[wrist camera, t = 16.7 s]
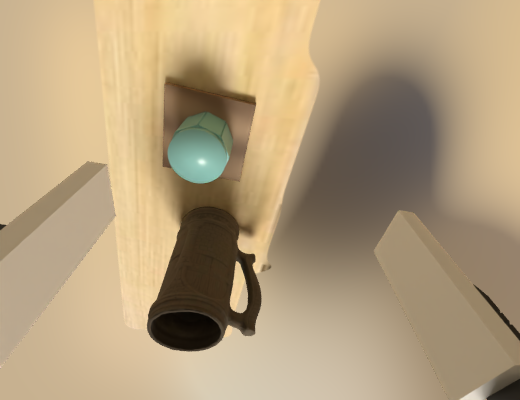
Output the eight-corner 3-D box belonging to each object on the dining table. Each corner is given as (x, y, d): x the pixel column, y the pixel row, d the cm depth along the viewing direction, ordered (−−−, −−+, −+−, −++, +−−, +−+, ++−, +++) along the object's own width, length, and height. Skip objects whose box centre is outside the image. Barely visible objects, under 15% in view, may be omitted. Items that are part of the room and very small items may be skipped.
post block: (167, 82, 34) (147, 93, 28) (255, 103, 35) (255, 117, 29) (164, 163, 40) (148, 185, 34) (240, 178, 42) (236, 202, 36)
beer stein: (174, 244, 50) (143, 354, 33) (179, 200, 44) (143, 305, 27) (251, 254, 53) (258, 359, 36) (265, 214, 47) (280, 316, 30)
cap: (194, 166, 39) (183, 189, 33) (173, 121, 35) (156, 138, 30) (238, 154, 38) (234, 175, 32) (221, 106, 34) (213, 121, 29)
